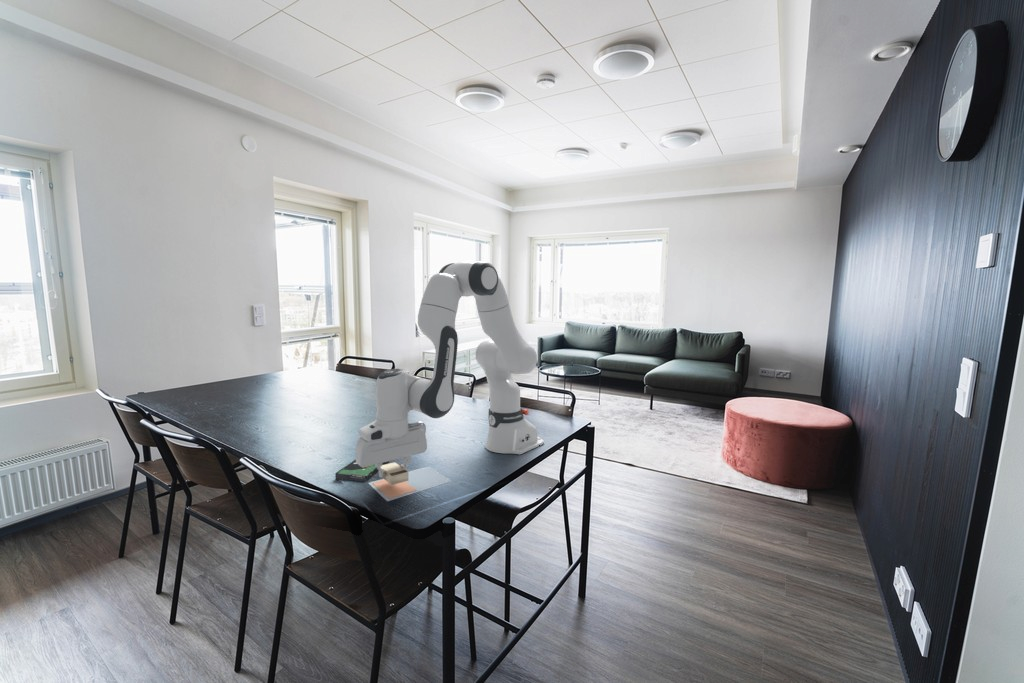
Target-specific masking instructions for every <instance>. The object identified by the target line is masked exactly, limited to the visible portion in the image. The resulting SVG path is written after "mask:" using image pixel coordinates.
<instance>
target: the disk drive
mask: <svg viewBox="0 0 1024 683" xmlns="http://www.w3.org/2000/svg"><path fill="white" fill-rule="evenodd" d="M389 463H390V461H387V462H383V463H382V465H385V464H389ZM377 473H379V470H378V469H377V468H376V466H375V465H371V466H367V467H361V466H359V465H358V464H357V463H356V458H355V459H354V460H353V461H352V462H350V463H348V464H347V465H346V466H344V467H342V468H340V470H338V471H337V472H335V476H334V477H335V481H339V480H340V481H341V482H344V481H345V480H346V481H347V480H349V481H357V482H367V481H368V480H370V479H371V478H372V477H374V476H375V475H376V474H377ZM340 481H339V482H340Z"/></svg>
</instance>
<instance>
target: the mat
mask: <svg viewBox="0 0 1024 683" xmlns="http://www.w3.org/2000/svg"><path fill="white" fill-rule="evenodd" d="M451 482H452V480H451V479H449V478H448V477H447V476H444V475H443V474H442V473H440V472H438V470H436V469H434V468H433V467H431V466H430V465H428V466H425V467H421V468H416V469H413V470H410V471H409V470H408V481H405V482H402V483H398V484H395V485H391V484H389V483H388V482H387V481H386V480H385V479H384V478H381V479H378V480H374V481H370V482H367V484H368V485H369V486H370V487H371V488H372V489H373V490H375V491H376V492H377V493H378V494H379V495H380V496H381V497H382V498H383V499H384V500H385V501H386V502H390V501H393V500H397V499H401V498H402V497H405V496H410V495H412V494H416V493H419V492H422V491H425V490H428V489H432V488H435V487H438V486H442V485H444V484H448V483H451Z"/></svg>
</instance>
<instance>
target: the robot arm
mask: <svg viewBox="0 0 1024 683" xmlns="http://www.w3.org/2000/svg"><path fill="white" fill-rule="evenodd" d="M462 297H474V299H475V306H476V309H477V313H478V317H479V321H480V324H481V325H480V326H481V328H482V331H483V332H484V334H486V336H487V337H489V338H490V340H484V341H482V342H480V343H479V344H478V346H477V347H476V350H475V359H476V362H477V364H479V366H480V367H481V369H482V371H483V373H484V374H485V377H486V381H487V383H488V389H489V408H488V417H487V418H488V431H487V438H486V441H485V445H484V448H485V449H486V450H487V451H489V452H493V453H498V454H512V455H522V454H524V453H526V452H529V451H531V450H533V449H535V448H538V447H540V446H542V445H544V444H545V441H544V439H542V438H541V437H539V435H538V430H537V427H536V426H535V425H534V424H533V423H531V422H530V421H528V420H527V419H526V418H525V417H524V415H525V416H529V414H530V411H529V409H526V408H523V409H522V408H521V388H520V386H519V385H518V384H517V382H516V381H515V380H514V378H513V377H512V374H514V375H526V374H531V373H532V372H533V371H534V370H535V368H536V366H537V362H538V355H537V354H538V353H537V352H536V350H535V348H534V347H533V346H531V345H530V344H529V343H527V341H526V340H525V339H524V338H523V336H522V335H521V333H520V331H519V330H518V328H517V326H516V324H515V322H514V318H513V314H512V311H511V310H512V309H511V307H510V301H509V297H508V294H507V291H506V288H505V286H504V284H503V282H502V279H501V278H500V276H499V274H498V271H497V270H496V268H495V267H494V265H493V264H492V263H490V262H487V261H483V260H478V261H475V260H466V261H465V260H464V261H459V262H456V263H455V262H453V263H448V264H445V265H444V266H443V267H441V268H440V270H439V272H438V273H435V274H433V275H432V276H431V277H430V279H429V281H428V282H427V285H426V287H425V290H424V292H423V295H422V297H421V298H422V299H421V302H420V306H419V309H418V315H417V325H418V327H419V330H420V332H421V333H422V334H423V335H424V337H427V338H428V339H429V340H430V341H431V343H432V344H433V346H434V350H435V355H434V356H435V358H434V364H433V365H434V366H433V372H432V374H433V375H432V378H431V379H428V378H424V377H420V376H416V375H413V374H411V373H409V372H407V371H405V369H403V368H390V369H386V370H384V371H382V372H381V373H379V374H378V376H377V379H376V383H375V405H376V414H375V420H373V421H372V422H370V423H368V424H367V425H364V426H362V427H360V428H359V429H358V435H359V438H358V440H357V441H356V445H355V459H356V463H357V464H358V465H359V466H361V467H367V466H371V465H375V466H376V468H377V469H378V470H379V471H378V477H379V478H381V479H383V478H382V477H386V471H385V470H384V469H381V466H382V463H383V462H387V461H389V462H391V461H395V460H400V459H404V460H403V462H402V464H399V465H400V466H401V467H402V468H404V469H405V470H406V471H408V465H409V464H410V462H411V460H412V456H415V455H420V454H424V453H426V451H427V449H428V443H427V436H426V433H427V426H426V424H425V423H424V422H422V421H417V422H411V423H409V412H410V411H413V410H414V411H415V412H419V413H422V414H424V415H426V416H428V417H429V418H432V419H440V418H442V417H444V416H445V415H447V414H449V412H450V411H451V409H452V408H453V405H454V403H455V385H454V384H455V375H456V374H455V373H456V366H457V365H456V363H457V355H458V345H459V344H458V343H459V337H458V336H459V335H458V333H457V331H456V319H457V312H458V307H459V301H460V299H461V298H462ZM543 443H544V444H543ZM539 445H540V446H539Z"/></svg>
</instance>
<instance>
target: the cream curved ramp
mask: <svg viewBox="0 0 1024 683" xmlns="http://www.w3.org/2000/svg"><path fill="white" fill-rule="evenodd" d="M400 465H401V464H398V463H397V462H394V461H393V462H389V463H388V464H385V465H382V466H381V469H384V470H385V471H386V477H382V478H381V479H385V480H386V481H387V482H388V483H389V484H391V485H395V484H398V483H402V482H405V481H408V472H409V470H407V471H406V470H405V469H404V468H402V467H401V466H400Z"/></svg>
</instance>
